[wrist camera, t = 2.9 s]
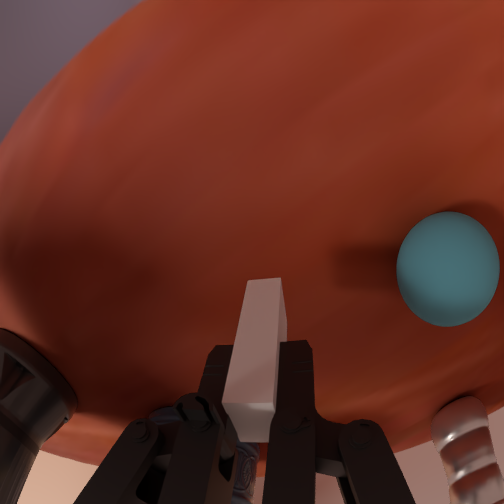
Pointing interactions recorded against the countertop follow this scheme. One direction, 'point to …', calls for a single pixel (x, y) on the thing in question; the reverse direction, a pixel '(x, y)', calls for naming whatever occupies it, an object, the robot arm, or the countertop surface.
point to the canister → (245, 463)
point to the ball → (447, 269)
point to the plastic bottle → (468, 453)
